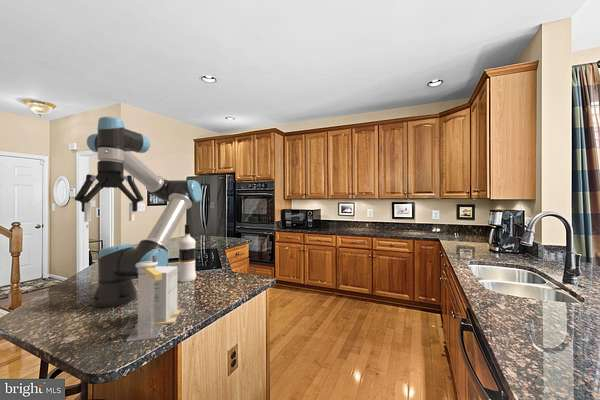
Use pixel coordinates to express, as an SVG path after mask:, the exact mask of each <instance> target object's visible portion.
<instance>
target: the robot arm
mask: <svg viewBox="0 0 600 400" xmlns="http://www.w3.org/2000/svg"><path fill="white" fill-rule="evenodd" d="M96 130H97V133H93V134H90V135H89V136H88V137H87V139H86V145H87V147H88V149H89V150H90V151H91V152H93V153H97V160H98V162H97V166H96V167H97V168H96V169H97V174H96V175H94V174H89V173H87V174H86V176H85V181H84V182H83V184H82V185H81V188H80V189H79V191H78V193H77V194H76V195H75V198H74V200H75V201H76V202H80V204H81V213H84V214H83V215H84V216H83V217H84V219H83V220H84V223H87V222H92V202H91V200H92V199H94V197H96V195H97V194H98V193H99V192H101V190H102V189H104V188H106V189H110V188H113V189H119V190H120V191H121V192H122V193H123V194H124V195H125V196H126V198H128V200H130V201H131V202H128V203H129V207H128V208H129V209H128V214H129V215H128V217H129V218H128V221H129V222H133V221H135V212H138V203H140V202H143V201H144V197H143V195H142V194H141V191H140V190H139V188H138V187H137V185H136V183H135V180H137V181H138V182H139V183H141V185H144V186H145V189H146V191H147V192H149V193H150V194H151V195H153V197H154V196H155V197H156V198H157V199H160V200H162V201H165V202H168V204H167V205H166V207H165V208H164V210H163V211H162V213H161V215H160V217H159V218H158V220H157V221H156V222H155V225H154V227H153V228H152V229H151V231H150V233H149V234H148V236H147V237H146V239H142V240H140V242H138V244H137V246H136V248H135V247H134V246H133V244H131V243H127V244H119V245H114V246H108V247H103V248H101V249H100V250H99V252H98V258H97V263H98V265H97V267H98V268H97V273H98V275H97V276H98V280H97V283H98V285H97V287H96V290H95V292H94V295H93V298H92V306H93V307H96V308H110V307H117V306H120V305H124V304H127V303H130V302H132V301H134V300H136V299H137V298H138V290H137V289H136V287H135V284H134V282H133V278H138V275H139V268H137V267H136V263H139V262H144V261H152V258H153V256H154V255H157V262H158V265H156V266H168V264H169V260H170V258H169V253H168V248H167V246H168V244H169V242H170V240H171V239H172V236H173V235H174V233H175V230H176V229H177V227H178V225H179V224H180V222H181V220H182V218H183V216H184V214H185V213H186V210H188V209H191V208H192V206H193V204H195V203H199V202H200V201H201V200H202V192H203V191H202V186H201V185H200V183H199V181H197V180H193V179H192V180H191V179H188V180H187V179H186V180H185V179H184V180H181V179H180V180H169V179H165V178H163V177H162V176H161V175H157V173H155V172H154V171H153V170H152V169H150V168H149V167H148V166H147V165H146V164H145V163H144V162H143V161H141V160H140V159H139V158H138V157H137V156H136V155H135V154H133V153H132V152H135V153H138V154H139V153H140V154H144V153H146V152H148V151H149V149H150V148H151V141H150V139H149V137H148V136H146V135H144V134H142V133H139V132H136V131H134V130H130V129H127V128H125V122H124V120H123V119H120V118H118V117H113V116H102V117H100V118H98V120H97V129H96ZM124 171H126V173H128V174H129V175H124ZM96 180H97V182H96V184H95V185H94V186H93V187H92V185H93V183H94V182H95V181H96ZM124 181H126V182H127V183H128V185H129V187H130V189H131V191H132V192H133V193H132V192H130V190H129V189H128V188H127V187H126V186H125V184H124V183H123V182H124ZM91 187H92V189H91V190H90V188H91ZM133 247H134V248H133Z"/></svg>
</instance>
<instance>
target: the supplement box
mask: <svg viewBox="0 0 600 400" xmlns="http://www.w3.org/2000/svg"><path fill="white" fill-rule="evenodd" d="M155 269H156V270H157V271H159V272H160V273H162V280H157V281H155V309H154V322H161V321H167V320H168V319H169V318H170V317H171V316H172V315H173V314H174V313H175V312H176V311H177V308H178V279H177V278H178V266H177V265H176V266H175V265H167V266H155Z"/></svg>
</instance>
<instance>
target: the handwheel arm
mask: <svg viewBox="0 0 600 400" xmlns="http://www.w3.org/2000/svg"><path fill="white" fill-rule="evenodd" d="M156 265H158V262H157V255H154V256H153V258H152V261H144V262H139V263H136V267H137V268H139V274H147V275H148V276H149V277H151V278H152V279H153V280H154V281H157V280H162V273H160V272H159V271H157V270H156V269H155V266H156Z"/></svg>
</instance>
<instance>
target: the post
mask: <svg viewBox="0 0 600 400" xmlns="http://www.w3.org/2000/svg"><path fill="white" fill-rule="evenodd" d="M137 281H138V282H137V322H138V326H137V327H136V328H134V329H133V330H132V332H131V333H130V334H129V336H127V338H126V342H127V343H128V342H133V341H134V342H135V341H143V340H152V339H157V338H158V336H159V334H160V333H161V331H162V330H163V328H164V326H165V325H164V324H155V325H154V309H155V281H154V280H153V279H152V278H151V277H149V276H148V275H147V274H139V275H138V277H137Z"/></svg>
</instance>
